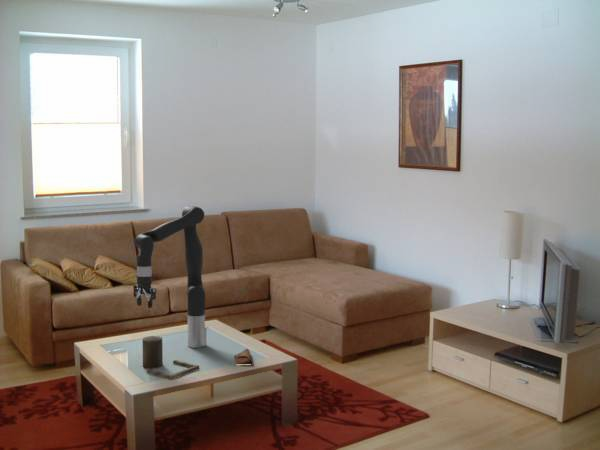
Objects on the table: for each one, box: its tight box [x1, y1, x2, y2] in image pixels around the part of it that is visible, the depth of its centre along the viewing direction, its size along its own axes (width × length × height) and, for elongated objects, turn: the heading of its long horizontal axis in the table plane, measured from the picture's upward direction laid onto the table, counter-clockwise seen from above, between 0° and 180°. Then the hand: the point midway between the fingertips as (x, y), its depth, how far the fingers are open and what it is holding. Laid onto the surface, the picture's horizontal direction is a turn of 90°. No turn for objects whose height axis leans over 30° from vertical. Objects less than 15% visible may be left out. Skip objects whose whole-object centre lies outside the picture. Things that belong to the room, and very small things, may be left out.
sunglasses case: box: [234, 348, 253, 365], centre depth 360 cm, size 18×7×7 cm, turn 8°
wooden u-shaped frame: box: [146, 359, 200, 380], centre depth 343 cm, size 16×19×2 cm
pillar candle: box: [142, 335, 164, 369], centre depth 350 cm, size 10×10×15 cm
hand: (144, 306), depth 362 cm, fingers open, 7 cm apart
